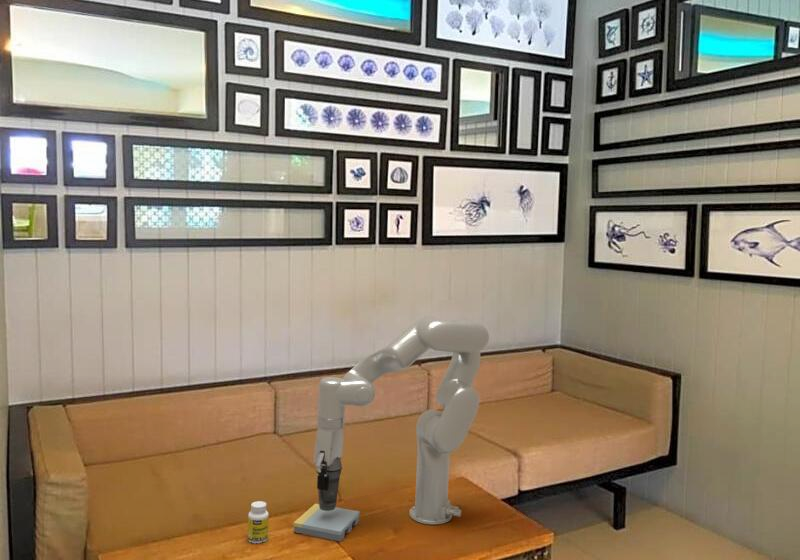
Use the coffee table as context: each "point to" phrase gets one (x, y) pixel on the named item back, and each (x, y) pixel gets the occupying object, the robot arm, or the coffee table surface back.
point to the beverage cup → (330, 487)
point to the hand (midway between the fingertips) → (328, 484)
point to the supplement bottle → (258, 523)
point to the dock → (327, 522)
